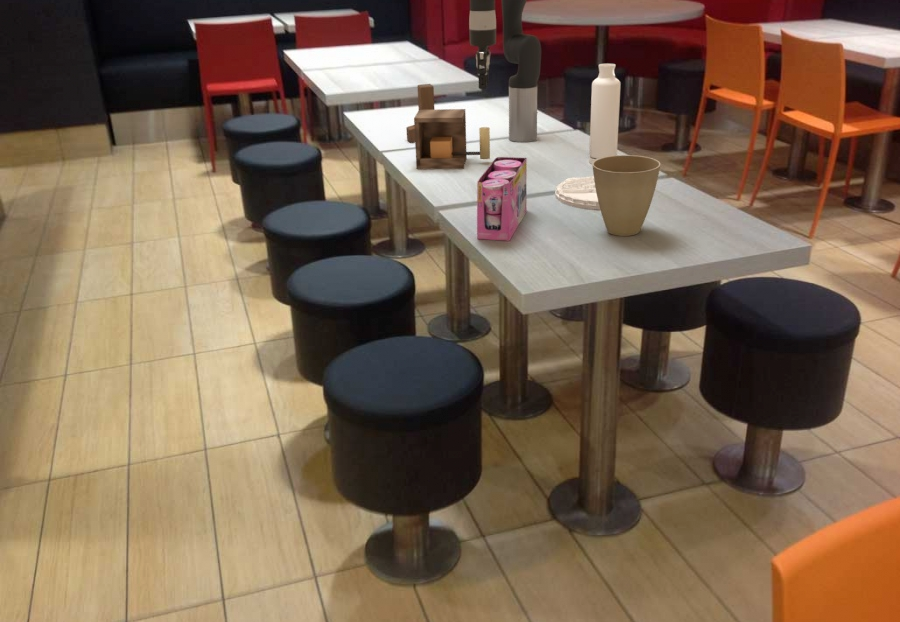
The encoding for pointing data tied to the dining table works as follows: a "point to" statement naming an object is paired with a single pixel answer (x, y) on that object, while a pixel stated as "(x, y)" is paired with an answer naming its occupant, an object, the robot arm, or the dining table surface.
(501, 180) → the gum box
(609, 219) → the plant pot
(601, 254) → the dining table surface
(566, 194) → the medallion
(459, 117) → the box
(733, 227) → the dining table surface
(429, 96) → the wooden block
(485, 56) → the robot arm
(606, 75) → the bottle
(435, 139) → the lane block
